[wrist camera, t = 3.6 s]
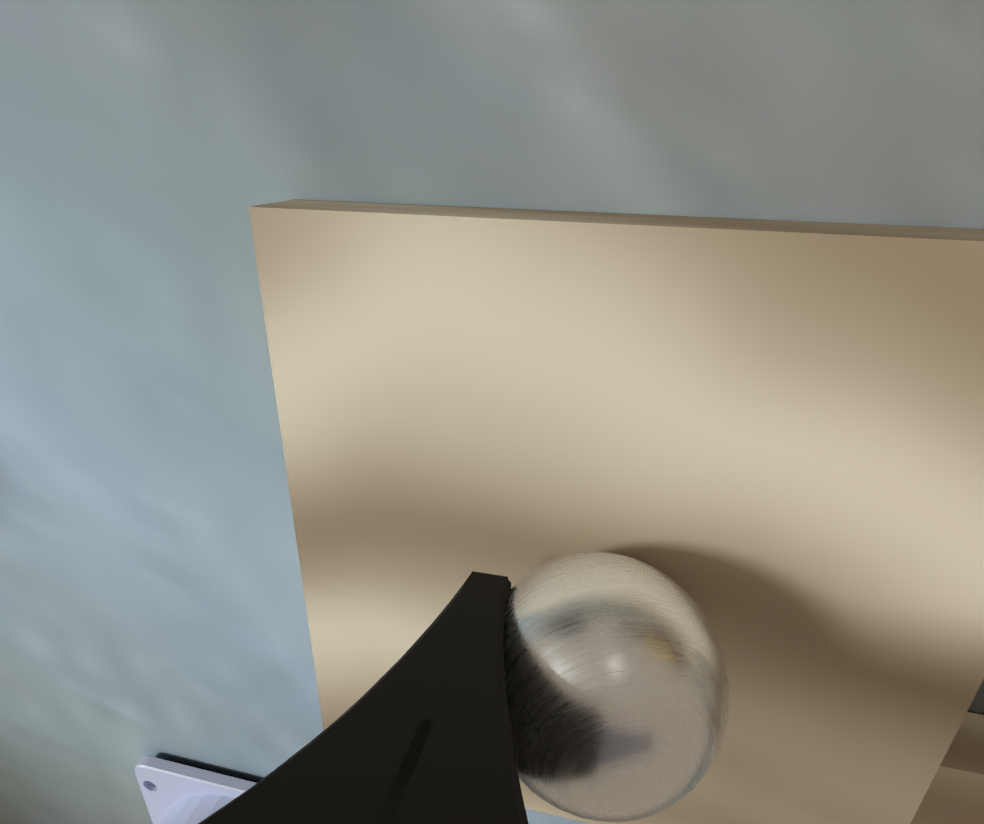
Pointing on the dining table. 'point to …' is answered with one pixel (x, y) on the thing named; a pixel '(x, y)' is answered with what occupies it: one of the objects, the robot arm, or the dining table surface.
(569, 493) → the ash board
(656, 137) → the dining table surface
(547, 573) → the steel ball
